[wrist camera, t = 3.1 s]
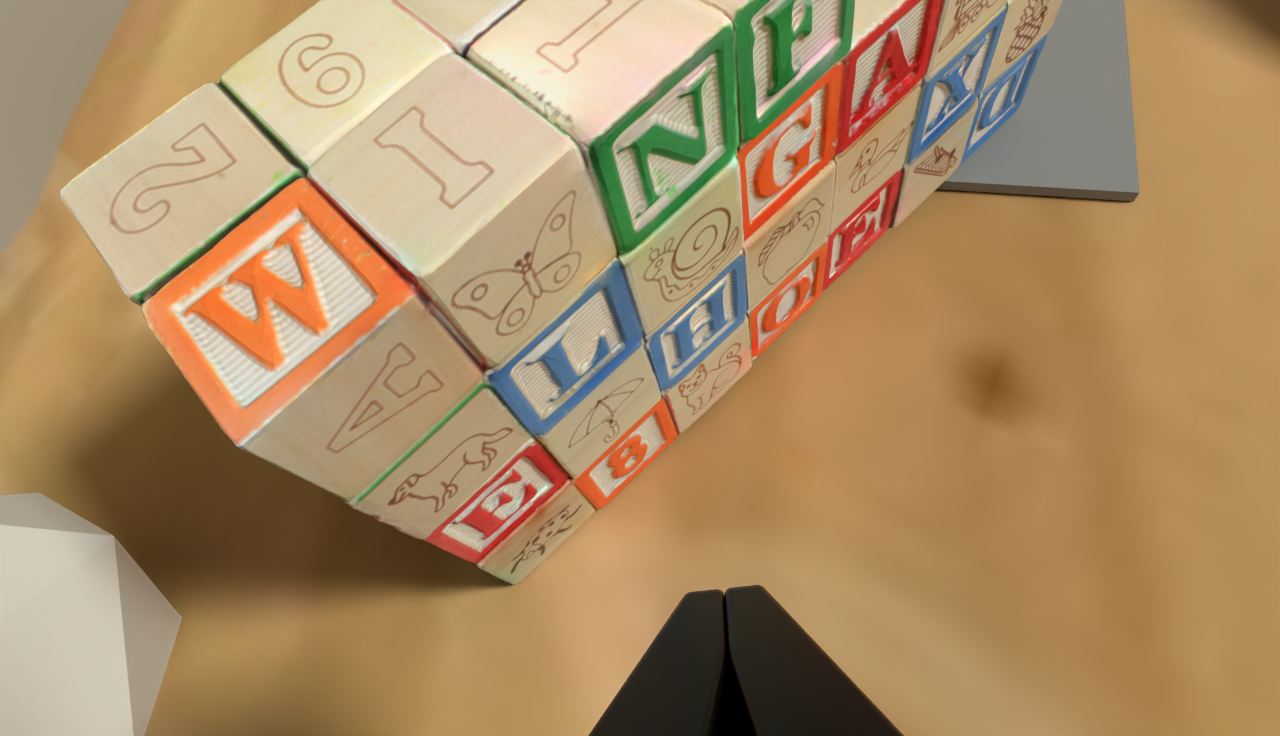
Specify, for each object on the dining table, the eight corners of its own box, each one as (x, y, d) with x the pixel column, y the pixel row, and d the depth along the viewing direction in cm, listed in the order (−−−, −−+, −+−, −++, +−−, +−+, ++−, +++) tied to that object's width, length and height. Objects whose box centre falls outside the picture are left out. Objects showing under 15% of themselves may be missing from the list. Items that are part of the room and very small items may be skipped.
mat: (1133, 201, 23) (1139, 192, 23) (408, 156, 28) (404, 148, 28) (1112, -83, 28) (1116, -94, 28) (504, -76, 34) (502, -85, 33)
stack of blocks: (866, 25, 27) (930, -459, 16) (1022, 112, 25) (1225, -390, 13) (387, 441, 23) (34, 183, 12) (513, 596, 21) (214, 447, 10)
